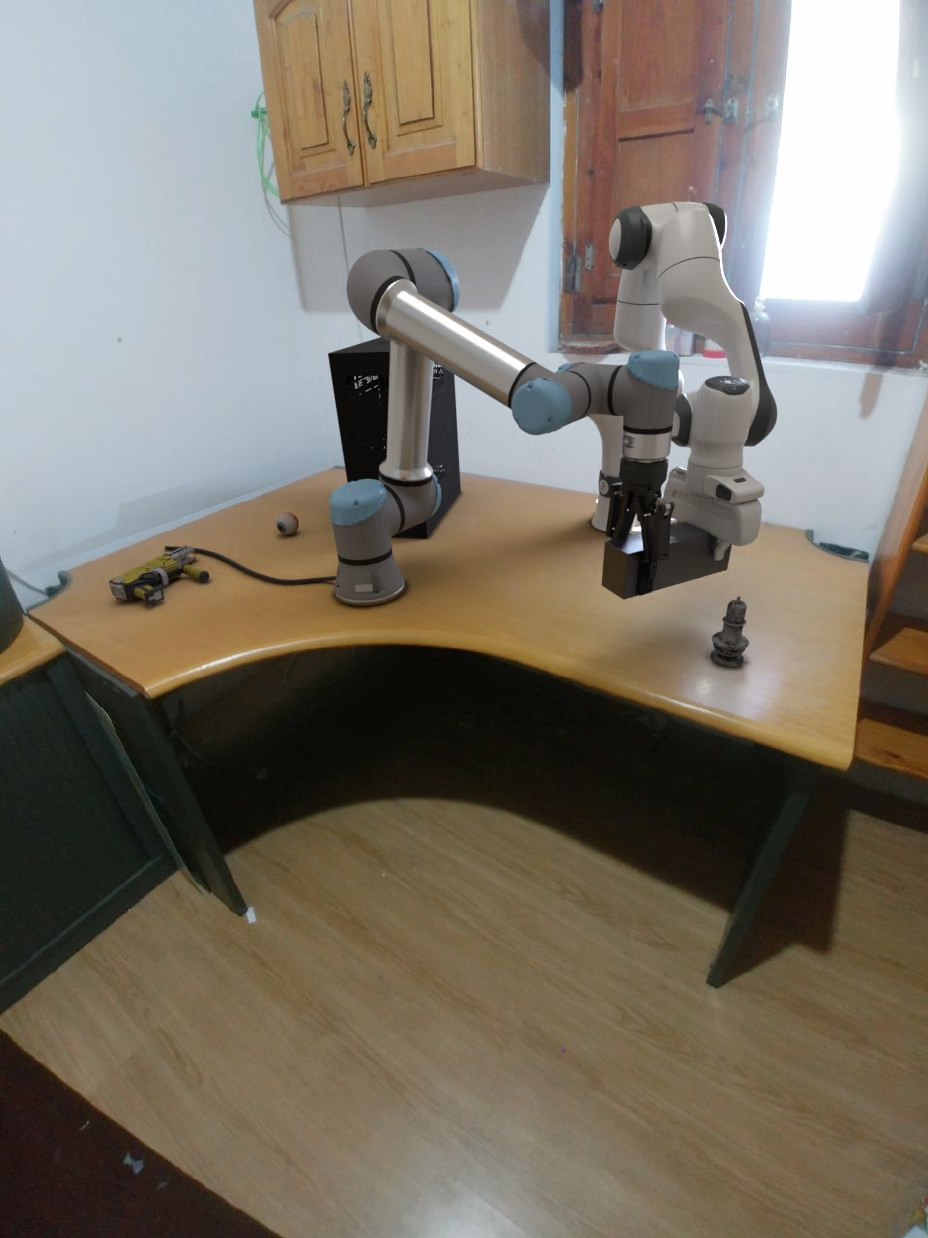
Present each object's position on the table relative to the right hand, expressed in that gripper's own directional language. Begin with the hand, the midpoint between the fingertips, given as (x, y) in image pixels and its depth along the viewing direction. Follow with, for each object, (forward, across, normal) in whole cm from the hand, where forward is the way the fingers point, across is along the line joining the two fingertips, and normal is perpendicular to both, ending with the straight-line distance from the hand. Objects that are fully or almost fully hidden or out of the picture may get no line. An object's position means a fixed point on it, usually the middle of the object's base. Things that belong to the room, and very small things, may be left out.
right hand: (700, 551), depth 112 cm
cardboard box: (+13, -84, -27) cm, 89 cm away
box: (+4, 0, -8) cm, 9 cm away
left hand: (+3, 0, -16) cm, 16 cm away
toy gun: (+13, -69, -92) cm, 116 cm away
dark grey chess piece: (+13, +15, -6) cm, 21 cm away
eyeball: (+13, -86, -62) cm, 107 cm away
